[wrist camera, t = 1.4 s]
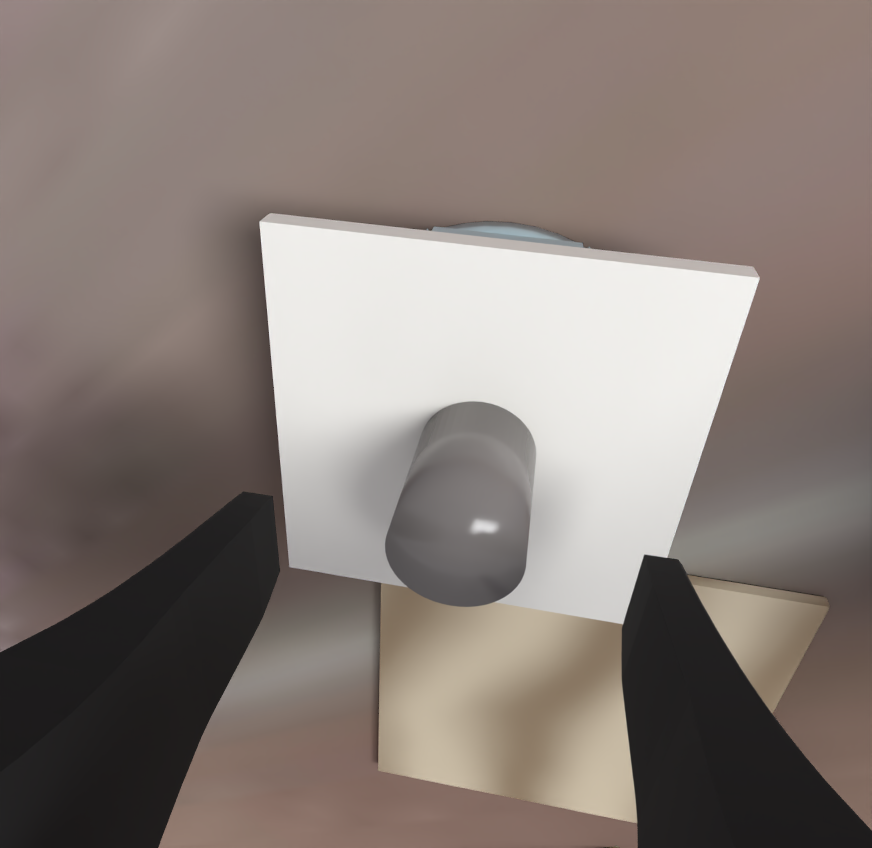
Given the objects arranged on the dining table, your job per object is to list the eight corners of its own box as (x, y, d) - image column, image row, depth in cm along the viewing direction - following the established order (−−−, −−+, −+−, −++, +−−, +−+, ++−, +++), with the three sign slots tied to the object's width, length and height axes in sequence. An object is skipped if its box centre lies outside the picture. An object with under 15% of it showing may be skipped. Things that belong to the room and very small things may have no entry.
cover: (753, 266, 14) (811, 367, 10) (642, 610, 19) (655, 751, 16) (269, 213, 15) (175, 287, 11) (296, 552, 20) (238, 671, 17)
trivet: (826, 597, 21) (829, 607, 21) (704, 827, 29) (705, 837, 29) (384, 525, 23) (381, 533, 23) (380, 762, 31) (377, 770, 30)
